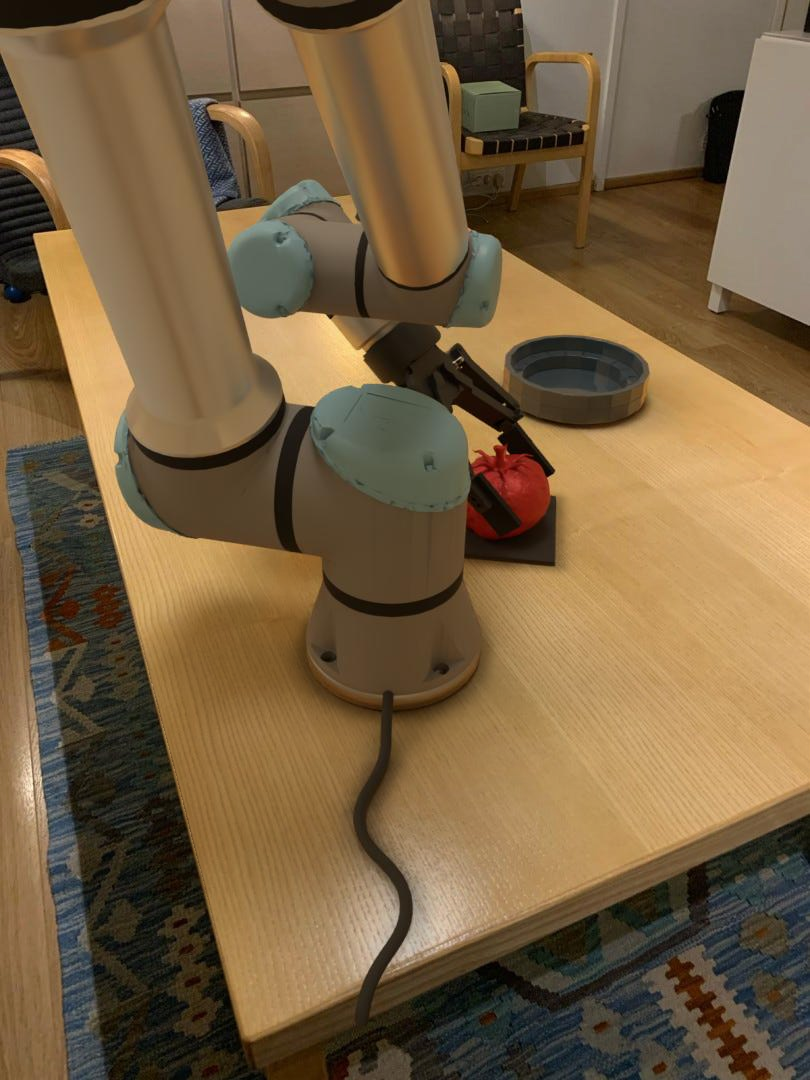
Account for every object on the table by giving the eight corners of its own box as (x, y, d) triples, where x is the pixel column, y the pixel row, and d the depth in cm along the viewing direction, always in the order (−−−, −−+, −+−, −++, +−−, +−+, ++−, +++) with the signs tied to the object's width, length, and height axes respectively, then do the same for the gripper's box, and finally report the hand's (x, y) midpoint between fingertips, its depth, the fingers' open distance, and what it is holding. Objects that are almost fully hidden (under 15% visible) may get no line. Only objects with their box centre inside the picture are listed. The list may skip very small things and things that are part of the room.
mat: (554, 566, 87) (555, 562, 87) (434, 555, 88) (434, 551, 88) (555, 499, 96) (556, 496, 96) (447, 490, 98) (447, 487, 98)
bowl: (648, 433, 108) (654, 400, 106) (498, 422, 111) (501, 390, 108) (638, 369, 123) (643, 339, 121) (506, 360, 125) (508, 331, 123)
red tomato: (563, 537, 90) (573, 459, 84) (474, 558, 87) (480, 479, 81) (518, 488, 97) (525, 414, 92) (436, 506, 94) (438, 430, 89)
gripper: (412, 311, 96) (536, 466, 100) (308, 397, 80) (462, 578, 83) (458, 271, 91) (587, 436, 95) (357, 353, 75) (519, 548, 78)
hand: (529, 502), depth 89 cm, fingers closed on red tomato, 10 cm apart
